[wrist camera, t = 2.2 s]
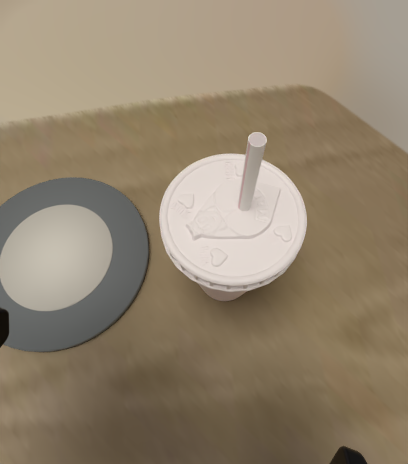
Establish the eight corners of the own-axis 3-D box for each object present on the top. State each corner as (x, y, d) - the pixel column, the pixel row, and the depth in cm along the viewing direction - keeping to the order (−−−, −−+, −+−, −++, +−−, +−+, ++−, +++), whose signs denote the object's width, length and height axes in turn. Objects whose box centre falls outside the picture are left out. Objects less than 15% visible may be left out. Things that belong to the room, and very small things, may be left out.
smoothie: (287, 294, 22) (398, 185, 9) (204, 339, 21) (191, 289, 8) (241, 219, 24) (275, 47, 11) (164, 256, 23) (104, 112, 10)
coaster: (184, 270, 22) (183, 267, 22) (16, 397, 19) (9, 398, 19) (92, 155, 27) (89, 149, 26) (-57, 244, 24) (-65, 241, 23)
